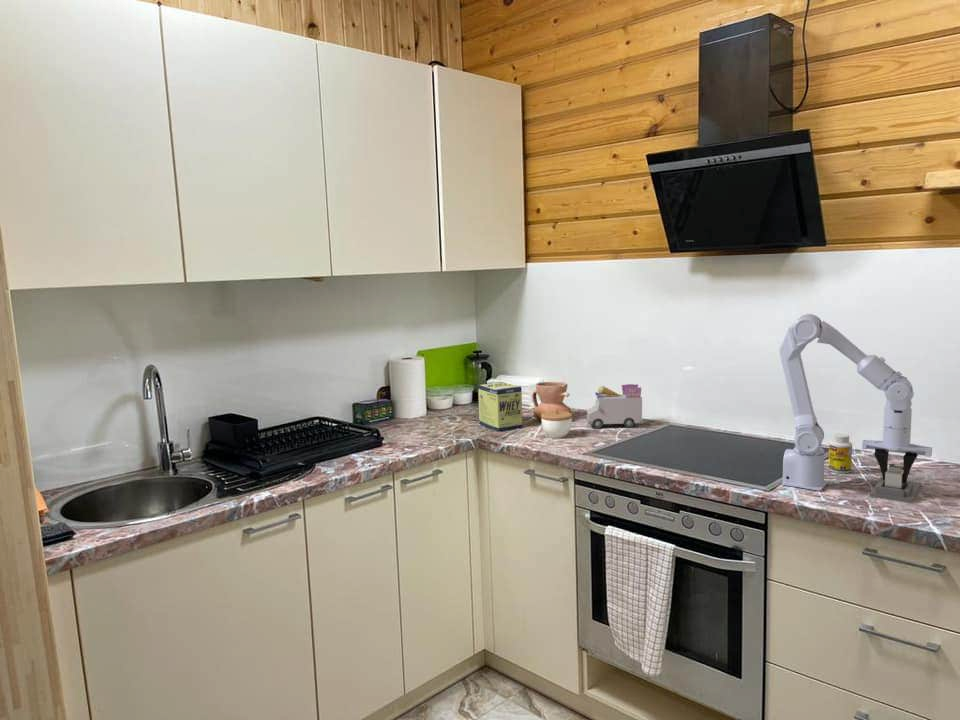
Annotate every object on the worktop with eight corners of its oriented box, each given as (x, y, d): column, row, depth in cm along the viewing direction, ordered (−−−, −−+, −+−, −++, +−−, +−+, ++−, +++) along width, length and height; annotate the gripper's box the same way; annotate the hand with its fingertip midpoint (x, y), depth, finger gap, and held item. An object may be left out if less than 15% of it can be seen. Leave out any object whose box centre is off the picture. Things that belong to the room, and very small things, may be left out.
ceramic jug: (581, 419, 265) (580, 382, 264) (556, 425, 256) (555, 387, 254) (546, 414, 279) (545, 379, 277) (521, 420, 269) (520, 383, 268)
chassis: (869, 496, 170) (870, 486, 170) (880, 480, 182) (881, 471, 181) (912, 503, 165) (913, 493, 164) (921, 486, 176) (921, 476, 176)
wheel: (887, 473, 175) (887, 466, 175) (890, 468, 178) (890, 461, 178) (907, 475, 172) (908, 468, 172) (910, 471, 176) (910, 464, 175)
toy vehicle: (585, 424, 258) (585, 384, 256) (638, 422, 257) (638, 382, 255) (588, 430, 249) (588, 388, 247) (643, 428, 248) (643, 387, 246)
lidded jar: (578, 437, 239) (578, 410, 238) (551, 441, 234) (551, 414, 233) (561, 431, 248) (561, 405, 247) (535, 435, 244) (535, 408, 243)
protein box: (498, 432, 250) (497, 389, 248) (478, 424, 264) (477, 384, 262) (523, 428, 255) (522, 386, 253) (502, 420, 268) (501, 381, 266)
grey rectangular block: (884, 492, 170) (885, 470, 169) (887, 487, 173) (888, 465, 173) (900, 494, 168) (902, 472, 167) (903, 489, 171) (904, 467, 170)
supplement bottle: (824, 471, 192) (825, 434, 190) (834, 467, 195) (835, 431, 194) (845, 475, 187) (846, 438, 186) (855, 471, 190) (856, 434, 189)
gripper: (860, 426, 170) (858, 480, 172) (930, 433, 161) (927, 490, 163) (866, 421, 175) (864, 473, 177) (934, 427, 166) (931, 482, 168)
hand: (894, 480), depth 170 cm, fingers closed on grey rectangular block, 3 cm apart
